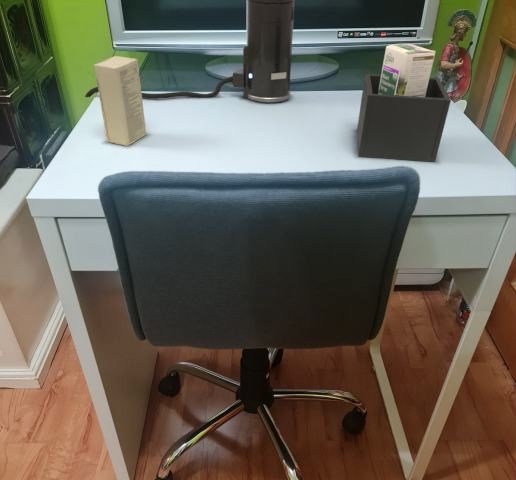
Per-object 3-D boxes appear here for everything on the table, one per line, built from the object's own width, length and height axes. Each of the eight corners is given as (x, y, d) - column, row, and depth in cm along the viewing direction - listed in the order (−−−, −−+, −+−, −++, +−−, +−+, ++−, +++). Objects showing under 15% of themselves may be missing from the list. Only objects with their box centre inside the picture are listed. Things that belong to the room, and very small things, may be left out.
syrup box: (368, 138, 90) (383, 44, 80) (395, 133, 92) (413, 41, 82) (388, 149, 86) (407, 52, 76) (416, 144, 88) (437, 49, 78)
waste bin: (358, 156, 85) (367, 95, 78) (356, 130, 94) (365, 73, 88) (435, 162, 84) (451, 100, 77) (425, 135, 93) (439, 77, 87)
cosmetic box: (126, 131, 91) (115, 55, 83) (148, 135, 90) (138, 58, 82) (105, 142, 87) (92, 63, 79) (128, 147, 86) (116, 67, 78)
